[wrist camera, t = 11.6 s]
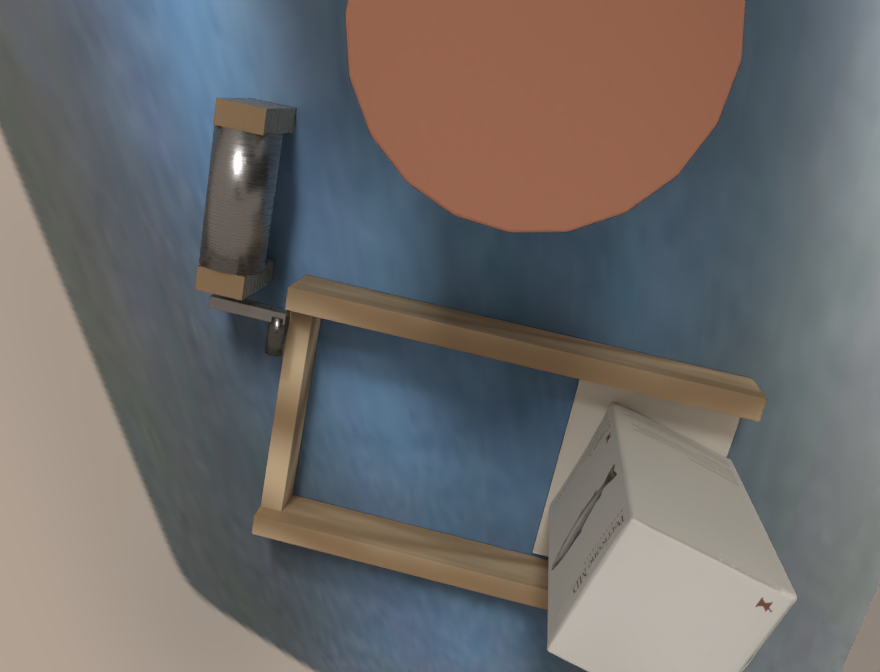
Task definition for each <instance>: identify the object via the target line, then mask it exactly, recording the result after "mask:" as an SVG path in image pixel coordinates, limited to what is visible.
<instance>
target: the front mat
mask: <svg viewBox="0 0 880 672" xmlns="http://www.w3.org/2000/svg"><path fill="white" fill-rule="evenodd" d="M612 402H617V403H619V404H621V405H623V406H625V407H627V408H629V409H631V410H633V411H635V412H637V413H639V414H641V415H643V416H645V417H647V418H649V419H651V420H653V421H655V422H657V423H659V424H661V425H663V426H665V427H667V428H669V429H671V430H673V431H675V432H677V433H679V434H681V435H683V436H685V437H687V438H689V439H691V440H693V441H694V442H697V443H699V444H700V445H703V446H705V447H707V448H709V449H711V450H713V451H714V452H716V453H718V454H720V455H722V456H724V457H726V458H727V455H728V452H729V449H730V446H731V443H732V440H733V437H734V435H735V432H736V429H737V426H738V423H739V420H740V417H737V416H733V415H729V414H724V413H720V412H716V411H712V410H707V409H703V408H699V407H695V406H691V405H686V404H682V403H678V402H674V401H669V400H665V399H661V398H657V397H653V396H648V395H644V394H640V393H636V392H631V391H627V390H623V389H619V388H614V387H610V386H606V385H602V384H598V383H593V382H589V381H585V380H581V379H580V380H579V383H578V387H577V391H576V394H575V398H574V402H573V405H572V409H571V413H570V416H569V420H568V424H567V427H566V431H565V434H564V438H563V442H562V445H561V449H560V453H559V456H558V460H557V464H556V467H555V471H554V475H553V478H552V482H551V486H550V489H549V493H548V497H547V500H546V504H545V508H544V511H543V515H542V519H541V522H540V526H539V530H538V533H537V537H536V541H535V544H534V548H533V553H535V554H539V555H543V556H547V557H549V521H550V504H551V502H552V501H553V499H554V498H555V497H556V495H557V493H558V492H559V490H560V489H561V487H562V486H563V484H564V483H565V481H566V480H567V478H568V476H569V475H570V473H571V472H572V470H573V468H574V467H575V465H576V464H577V462H578V460H579V459H580V457H581V456H582V454H583V452H584V451H585V449H586V447H587V446H588V444H589V442H590V441H591V439H592V437H593V435H594V434H595V432H596V430H597V428H598V426H599V425H600V423H601V421H602V419H603V417H604V415H605V414H606V412H607V410H608V408H609V406H610V404H611V403H612Z"/></svg>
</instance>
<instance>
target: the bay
mask: <svg viewBox="0 0 880 672" xmlns="http://www.w3.org/2000/svg"><path fill="white" fill-rule="evenodd" d="M285 310H289V311H291V313H290V321H289V327H288V334H287V340H286V347H285V354H284V355H283V362H282V369H281V375H280V382H279V389H278V395H277V402H276V409H275V415H274V422H273V429H272V435H271V442H270V449H269V455H268V462H267V469H266V475H265V482H264V488H263V495H262V502H261V507H260V508H259V509H258V511H257V512H256V514H255V515H254V522H253V528H252V534H255V535H259V536H263V537H267V538H271V539H274V540H278V541H282V542H286V543H290V544H294V545H298V546H302V547H305V548H309V549H313V550H317V551H321V552H325V553H329V554H332V555H336V556H340V557H344V558H348V559H352V560H356V561H360V562H363V563H367V564H371V565H375V566H379V567H383V568H387V569H390V570H394V571H398V572H402V573H406V574H410V575H414V576H418V577H421V578H425V579H429V580H433V581H437V582H441V583H445V584H449V585H452V586H456V587H460V588H464V589H468V590H472V591H476V592H479V593H483V594H487V595H491V596H495V597H499V598H503V599H507V600H510V601H514V602H518V603H522V604H526V605H530V606H534V607H538V608H541V609H545V610H548V563H549V560H547V559H543V558H539V557H535V556H531V555H528V554H524V553H520V552H516V551H512V550H508V549H504V548H500V547H496V546H492V545H488V544H484V543H480V542H476V541H472V540H468V539H464V538H461V537H457V536H453V535H449V534H445V533H441V532H437V531H433V530H429V529H425V528H421V527H417V526H413V525H409V524H405V523H401V522H398V521H394V520H390V519H386V518H382V517H378V516H374V515H370V514H366V513H362V512H358V511H354V510H350V509H346V508H342V507H338V506H334V505H331V504H327V503H323V502H319V501H315V500H311V499H307V498H303V497H299V496H295V495H292V494H293V488H294V481H295V475H296V469H297V463H298V457H299V451H300V445H301V439H302V432H303V426H304V420H305V414H306V408H307V402H308V396H309V389H310V383H311V377H312V371H313V365H314V359H315V353H316V347H317V340H318V334H319V328H320V322H321V318H323V319H327V320H331V321H336V322H340V323H344V324H348V325H353V326H357V327H361V328H365V329H370V330H374V331H378V332H382V333H386V334H391V335H395V336H399V337H403V338H408V339H412V340H416V341H420V342H424V343H429V344H433V345H437V346H441V347H446V348H450V349H454V350H458V351H462V352H467V353H471V354H475V355H479V356H484V357H488V358H492V359H496V360H500V361H505V362H509V363H513V364H517V365H522V366H526V367H530V368H534V369H538V370H543V371H547V372H551V373H555V374H560V375H564V376H568V377H572V378H576V379H581V380H585V381H589V382H593V383H598V384H602V385H606V386H610V387H614V388H619V389H623V390H627V391H631V392H636V393H640V394H644V395H648V396H653V397H657V398H661V399H665V400H669V401H674V402H678V403H682V404H686V405H691V406H695V407H699V408H703V409H707V410H712V411H716V412H720V413H724V414H729V415H733V416H737V417H741V418H745V419H750V420H754V421H758V422H759V421H760V418H761V416H762V413H763V410H764V407H765V404H766V401H767V398H766V397H765V395H764V394H763V393H762V391H761V390H760V389H759V387H758V386H757V384H756V383H755V382H754V380H753V379H752V378H747V377H743V376H739V375H734V374H730V373H726V372H721V371H717V370H713V369H709V368H704V367H700V366H696V365H691V364H687V363H683V362H679V361H674V360H670V359H666V358H661V357H657V356H653V355H649V354H644V353H640V352H636V351H631V350H627V349H623V348H619V347H614V346H610V345H606V344H601V343H597V342H593V341H588V340H584V339H580V338H576V337H571V336H567V335H563V334H558V333H554V332H550V331H546V330H541V329H537V328H533V327H528V326H524V325H520V324H516V323H511V322H507V321H503V320H498V319H494V318H490V317H485V316H481V315H477V314H473V313H468V312H464V311H460V310H455V309H451V308H447V307H443V306H438V305H434V304H430V303H425V302H421V301H417V300H413V299H408V298H404V297H400V296H395V295H391V294H387V293H383V292H378V291H374V290H370V289H365V288H361V287H357V286H352V285H348V284H344V283H340V282H335V281H331V280H327V279H322V278H318V277H314V276H310V275H305V276H303V277H302V278H300V279H299V280H297V281H296V282H295V283H293V284H292V285H290V286H289V287H288V292H287V299H286V305H285Z"/></svg>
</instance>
